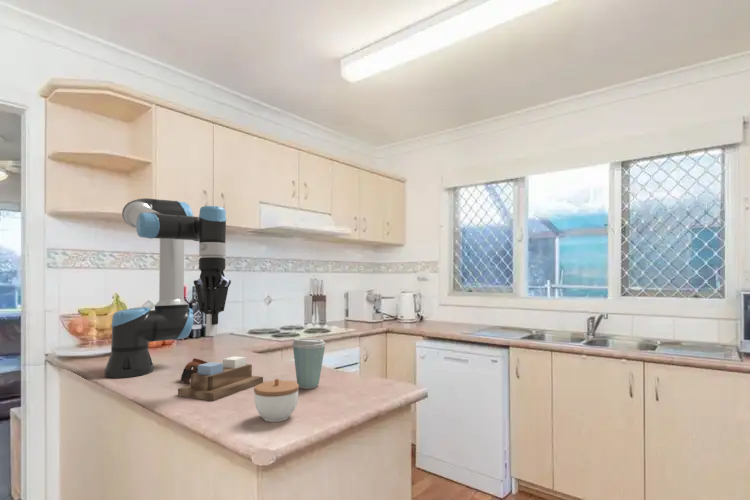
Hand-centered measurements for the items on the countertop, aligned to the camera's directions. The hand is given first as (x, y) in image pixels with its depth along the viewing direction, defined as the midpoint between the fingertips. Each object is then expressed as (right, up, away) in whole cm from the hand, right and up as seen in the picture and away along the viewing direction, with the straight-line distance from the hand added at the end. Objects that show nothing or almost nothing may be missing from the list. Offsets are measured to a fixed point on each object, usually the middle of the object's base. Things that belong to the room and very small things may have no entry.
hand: (211, 335), depth 126 cm
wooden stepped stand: (+2, -17, +4) cm, 18 cm away
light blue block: (0, -13, -1) cm, 13 cm away
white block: (+4, -13, +9) cm, 16 cm away
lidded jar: (+25, -16, -23) cm, 37 cm away
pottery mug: (-11, -18, +14) cm, 26 cm away
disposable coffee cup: (+28, -17, +6) cm, 34 cm away
